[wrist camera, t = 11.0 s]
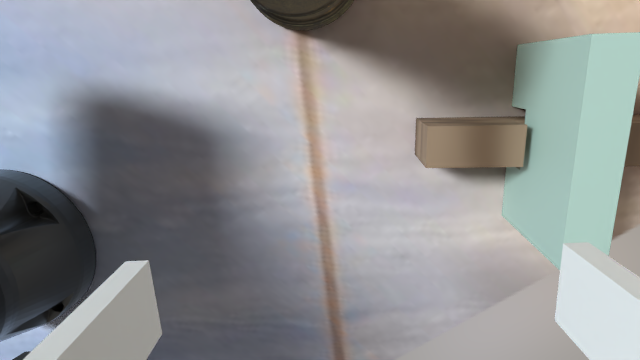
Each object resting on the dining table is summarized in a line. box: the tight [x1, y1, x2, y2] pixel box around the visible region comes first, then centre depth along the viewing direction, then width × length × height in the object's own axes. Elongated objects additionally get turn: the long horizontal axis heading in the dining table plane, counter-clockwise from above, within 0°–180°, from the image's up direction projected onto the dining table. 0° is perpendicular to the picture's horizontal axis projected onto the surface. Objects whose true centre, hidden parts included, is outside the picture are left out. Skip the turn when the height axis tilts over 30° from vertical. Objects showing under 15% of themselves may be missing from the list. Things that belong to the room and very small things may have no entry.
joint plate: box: [502, 32, 640, 270], centre depth 29 cm, size 14×3×10 cm, turn 2°
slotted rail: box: [415, 114, 640, 168], centre depth 31 cm, size 18×3×5 cm, turn 92°
